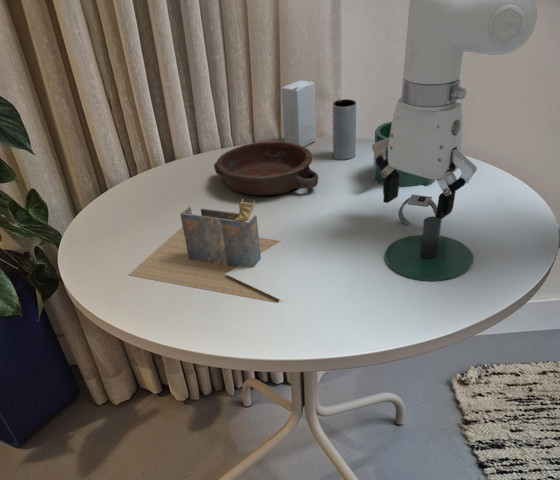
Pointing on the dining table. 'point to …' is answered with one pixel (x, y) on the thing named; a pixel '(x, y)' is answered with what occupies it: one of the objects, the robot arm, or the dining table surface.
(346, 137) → the grey cylinder
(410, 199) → the wristwatch
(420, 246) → the lid
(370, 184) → the dining table surface
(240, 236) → the ruin model on sheet
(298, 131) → the cosmetic box
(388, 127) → the pot
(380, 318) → the dining table surface
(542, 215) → the dining table surface
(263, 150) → the dish
